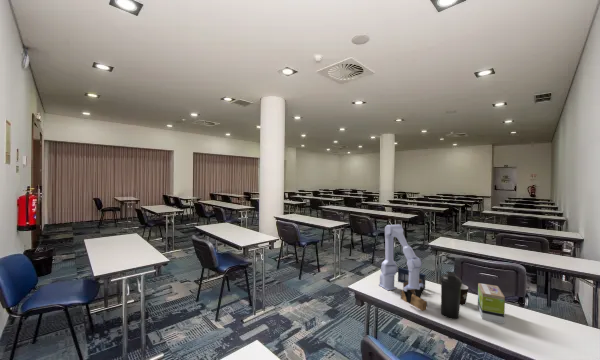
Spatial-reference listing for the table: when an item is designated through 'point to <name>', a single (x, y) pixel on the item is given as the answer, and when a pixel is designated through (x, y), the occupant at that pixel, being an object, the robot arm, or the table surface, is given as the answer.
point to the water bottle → (450, 295)
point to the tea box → (491, 303)
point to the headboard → (412, 289)
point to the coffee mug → (463, 294)
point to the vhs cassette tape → (404, 276)
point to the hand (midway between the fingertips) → (413, 300)
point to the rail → (415, 301)
